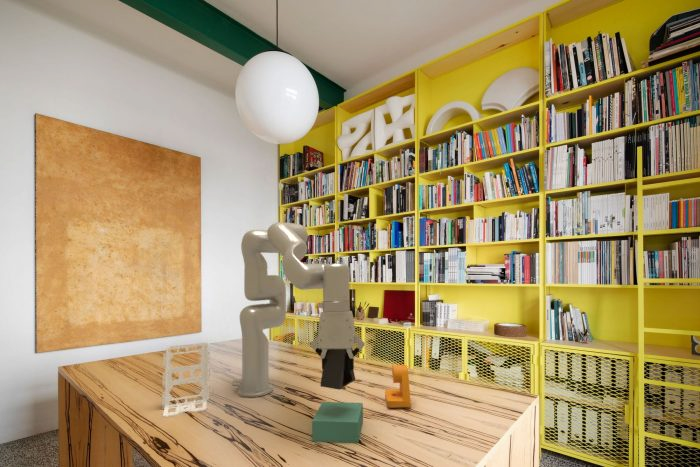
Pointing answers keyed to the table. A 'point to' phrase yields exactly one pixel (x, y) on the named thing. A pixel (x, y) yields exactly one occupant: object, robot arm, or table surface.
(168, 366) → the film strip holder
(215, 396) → the table surface
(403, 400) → the bracket
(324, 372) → the phone stand
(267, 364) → the robot arm
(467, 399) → the table surface
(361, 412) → the green block
